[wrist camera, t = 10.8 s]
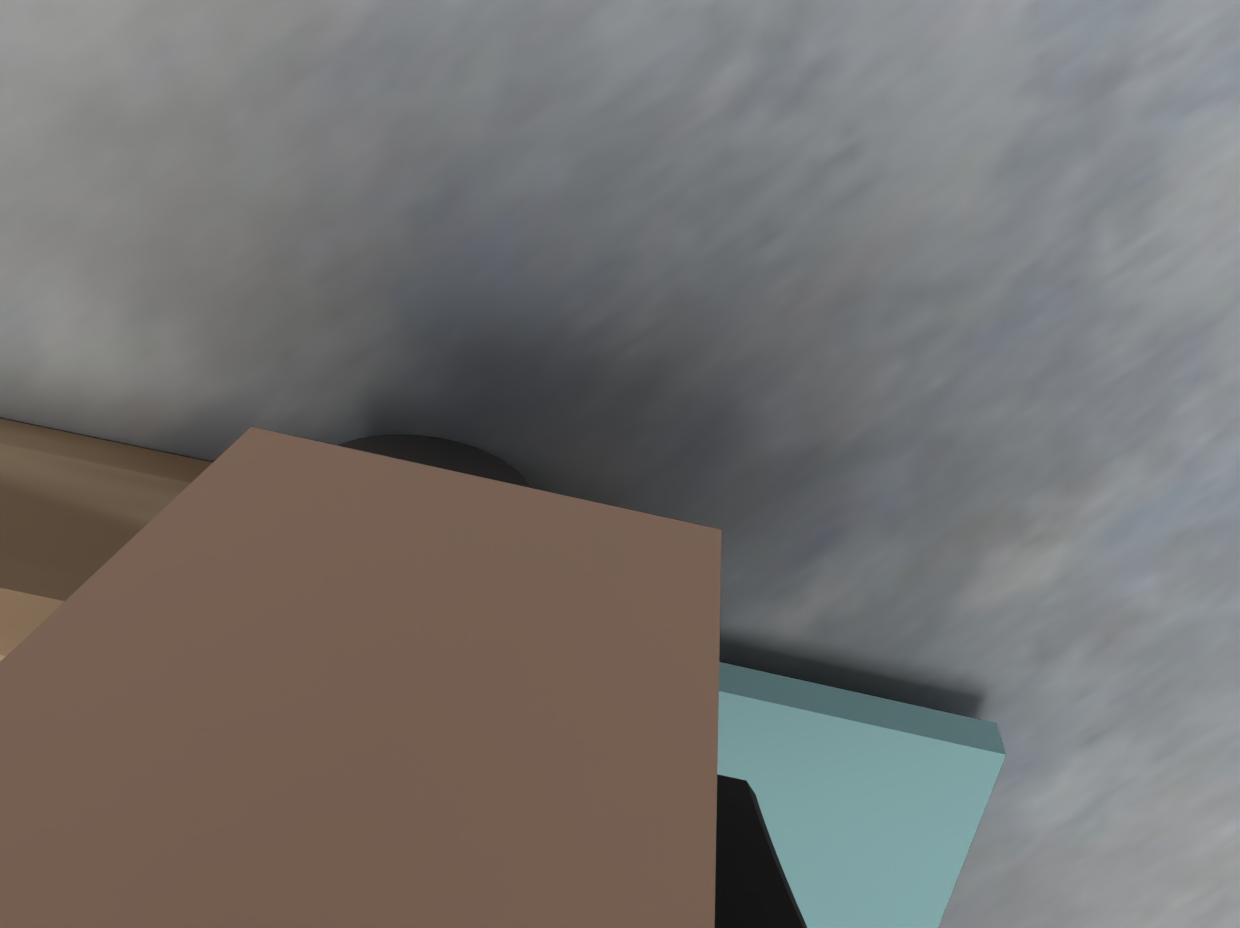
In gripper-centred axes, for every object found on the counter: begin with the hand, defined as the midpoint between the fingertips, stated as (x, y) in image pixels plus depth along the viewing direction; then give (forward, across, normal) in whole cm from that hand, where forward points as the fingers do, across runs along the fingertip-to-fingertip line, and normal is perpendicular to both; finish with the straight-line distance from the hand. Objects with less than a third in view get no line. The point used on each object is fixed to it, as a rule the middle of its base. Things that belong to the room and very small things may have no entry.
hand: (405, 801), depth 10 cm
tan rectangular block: (+2, 0, 0) cm, 2 cm away
